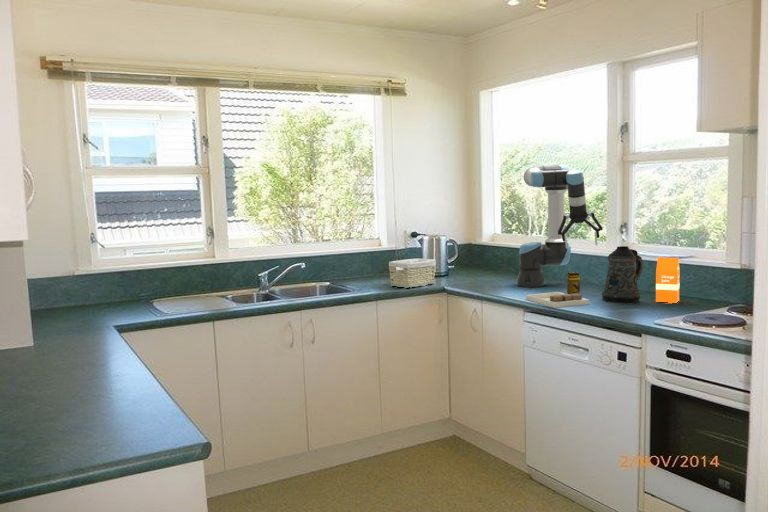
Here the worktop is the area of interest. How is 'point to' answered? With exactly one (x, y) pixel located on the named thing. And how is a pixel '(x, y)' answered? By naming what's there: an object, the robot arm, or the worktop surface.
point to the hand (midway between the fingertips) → (581, 245)
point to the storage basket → (412, 272)
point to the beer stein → (623, 276)
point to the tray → (545, 300)
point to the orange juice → (667, 280)
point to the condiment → (573, 283)
